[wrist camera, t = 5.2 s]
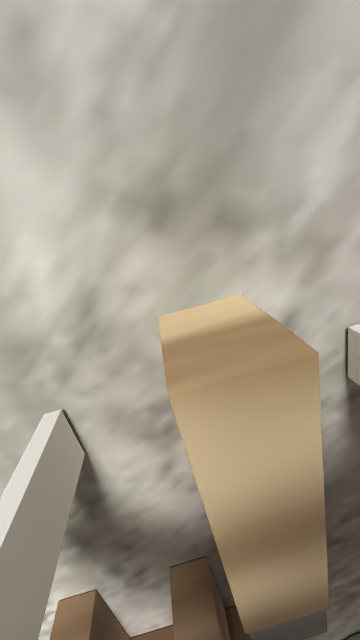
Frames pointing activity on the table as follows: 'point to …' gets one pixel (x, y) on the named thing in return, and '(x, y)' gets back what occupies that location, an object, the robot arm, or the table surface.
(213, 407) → the light wooden block
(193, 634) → the wooden slotted stand
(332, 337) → the table surface
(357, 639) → the soda can
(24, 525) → the robot arm
